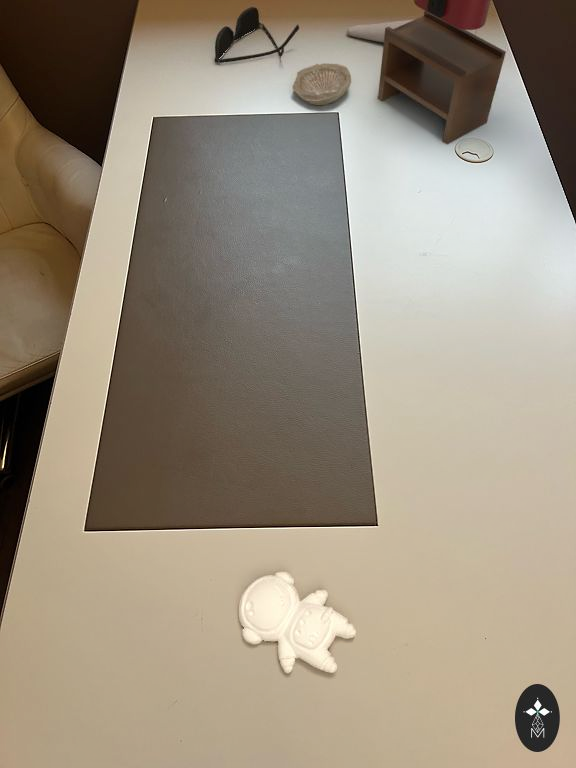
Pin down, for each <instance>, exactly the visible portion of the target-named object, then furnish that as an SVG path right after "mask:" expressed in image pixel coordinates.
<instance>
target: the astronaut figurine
mask: <svg viewBox="0 0 576 768" xmlns="http://www.w3.org/2000/svg"><path fill="white" fill-rule="evenodd" d="M328 597H329V594H328V591H326V590H325V589H318V590H316V591H315V592H311V593H309V594H308V595H307V596H306V597H304V598H303V599H302V600H301V599H300V595H299V593H298V590H297V589H296V587H295V580H294V577H293V576H292V575H291V574H290V573H289V572H286V571H277V572H276V573H275V574H274V575H271V574H268V575H264V576H261V577H259V578H257V579H256V580H254V581H253V582H252V583H250V584H249V585H248V586H247V587H246V589H245V590H244V591H243V593H242V595H241V597H240V600H239V604H238V620H239V623H240V625H241V627H242V626H243V627H244V629H243V627H242V630H241V635H242V638H243V639H244V641H245V642H246V643H249V644H250V643H251V644H250V645H259V644H261V643H262V642H266V641H271V642H275V641H278V642H277V645H278V646H277V656H278V660H279V664H280V666H281V668H282V669H283V671H284V673H285V674H290V673H291V672H293V669H294V667H295V663H296V659H301V660H302V661H304V662H306V663H308V665H310V666H312V668H313V667H314V668H315V669H318V670H321V671H322V672H325V673H330V674H333V673H336V671H337V669H338V664H337V662H336V659H335V658H334V657H333V656H332V655H331V653H330V652H329V650H328V649H329V648H330V646H331V645H332V644H333V642H334V640H335V638H336V637H340V638H342V639H346V640H347V639H352V638H354V637H356V634H357V630H356V628H355V627H354V625H353V623H349V619H348V618H347V617H345V616H344V615H342V614H341V613H339V612H337V611H336V610H334V608H333V607H332V606H325V604H326V602H327V599H328ZM262 640H264V641H262ZM261 641H262V642H261ZM260 642H261V643H260ZM295 658H296V659H295Z"/></svg>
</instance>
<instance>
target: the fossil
mask: <svg viewBox="0 0 576 768" xmlns="http://www.w3.org/2000/svg"><path fill="white" fill-rule="evenodd" d="M351 83H352V74H351V72H350V70H349V69H348V67H347V66H345V65H344V64H338V63H316V64H313V65H310V66H308V67H305V68H302V69H300V70H299V71H297V74H296V77H295V80H294V82H293V85H292V91H293V92H294V93H295V94H296V95H297V96H298V97H299V98H300V99H301V100H303V101H304V102H306V103H308V104H311V105H315V106H324V105H329V104H331V103H333V102H335V101H337V100H338V99H340V98H341V97H342V96H343V95H344V94H345V93H346V92H347V91H348V90H349V88H350V86H351Z"/></svg>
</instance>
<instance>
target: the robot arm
mask: <svg viewBox="0 0 576 768" xmlns="http://www.w3.org/2000/svg"><path fill="white" fill-rule="evenodd" d="M446 2H447V0H429V1H428V7H427V10H428V12H430V13H432V14H434V15H435V16H437V17H439V18H441V17H443V16H444V13H445V8H446Z"/></svg>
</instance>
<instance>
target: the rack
mask: <svg viewBox="0 0 576 768" xmlns="http://www.w3.org/2000/svg"><path fill="white" fill-rule="evenodd" d="M423 11H424V12H423V15H422V16H420V17H418V18H415V19H412V20H413V21H411V22H408V23H406V24H404V25H401V26H399V27H397V28H395V29H392V28H390V27H386V28H385V35H384V43H383V46H382V54H381V55H382V56H381V63H380V73H379V82H378V83H379V84H378V93H377V99H378V100H379V101H381V102H383V101H385V100H388V99H389V98H392V97H394V96H395V95H398V94H400V93H403V94H404V95H406V96H408V97H409V98H411V99H413V101H415V102H417V103H419V104H420V105H422V106H423V107H424V108H427V109H428V110H430V111H431V112H433V113H435V114H436V115H438V116H439V117H441V118H442V119H444V120H446V123H445V126H444V132H443V137H442V142H443V143H444V144H446V145H449V144H451V143H452V142H454V141H455V140H458V139H460V138H461V137H463V136H465V135H467V134H469V133H471V132H472V131H474V130H477V129H479V128H480V127H482V126H484V125H486V124H487V123H488V120H489V116H490V113H491V108H492V105H493V102H494V98H495V94H496V91H497V87H498V84H499V83H498V82H499V79H500V75H501V71H502V69H503V64H504V62H505V57H506V54H507V53H506V52H507V51H506V50H504V49H502V48H500V47H498V46H496V45H495V44H493V43H490V42H489V41H487V40H486V39H484V38H481V37H480V36H477V34H476V35H474V34H472V33H470V32H468V31H466V30H464V29H460V28H457V27H454V26H453V25H451V24H449V23H447V22H445V21H443V20H442V19H440V18H438V17H436V16H434V15H432V14H431V13H429V12H427V11H425V10H423Z"/></svg>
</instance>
